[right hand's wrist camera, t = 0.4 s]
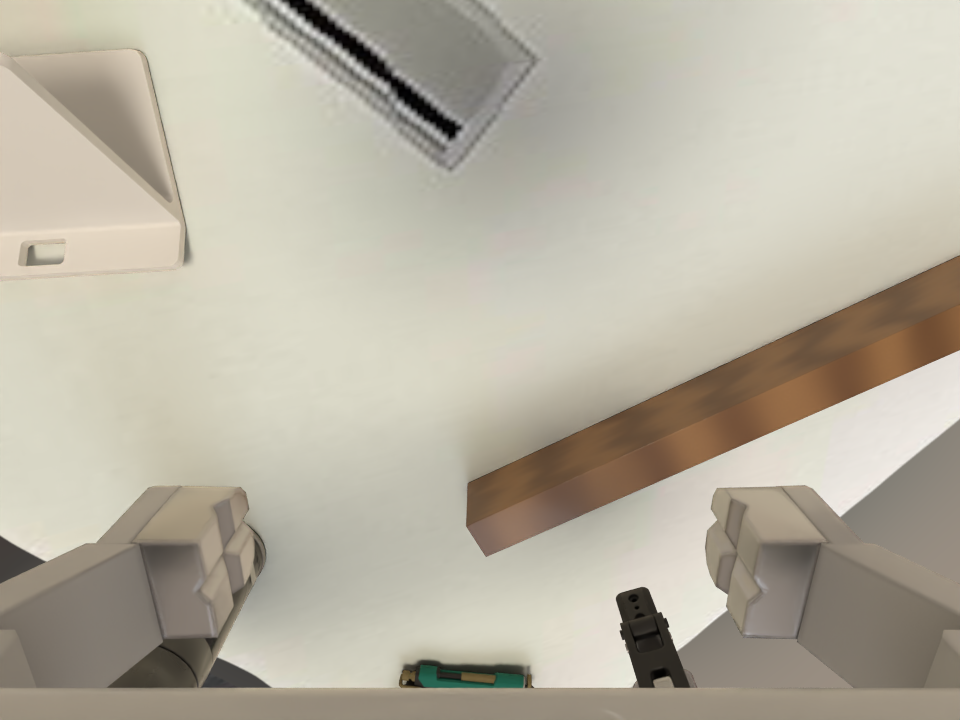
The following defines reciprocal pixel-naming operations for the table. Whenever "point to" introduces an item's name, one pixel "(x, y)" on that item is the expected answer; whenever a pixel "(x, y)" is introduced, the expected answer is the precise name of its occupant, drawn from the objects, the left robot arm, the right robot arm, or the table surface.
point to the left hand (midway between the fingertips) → (647, 640)
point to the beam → (721, 409)
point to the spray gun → (460, 679)
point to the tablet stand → (85, 167)
